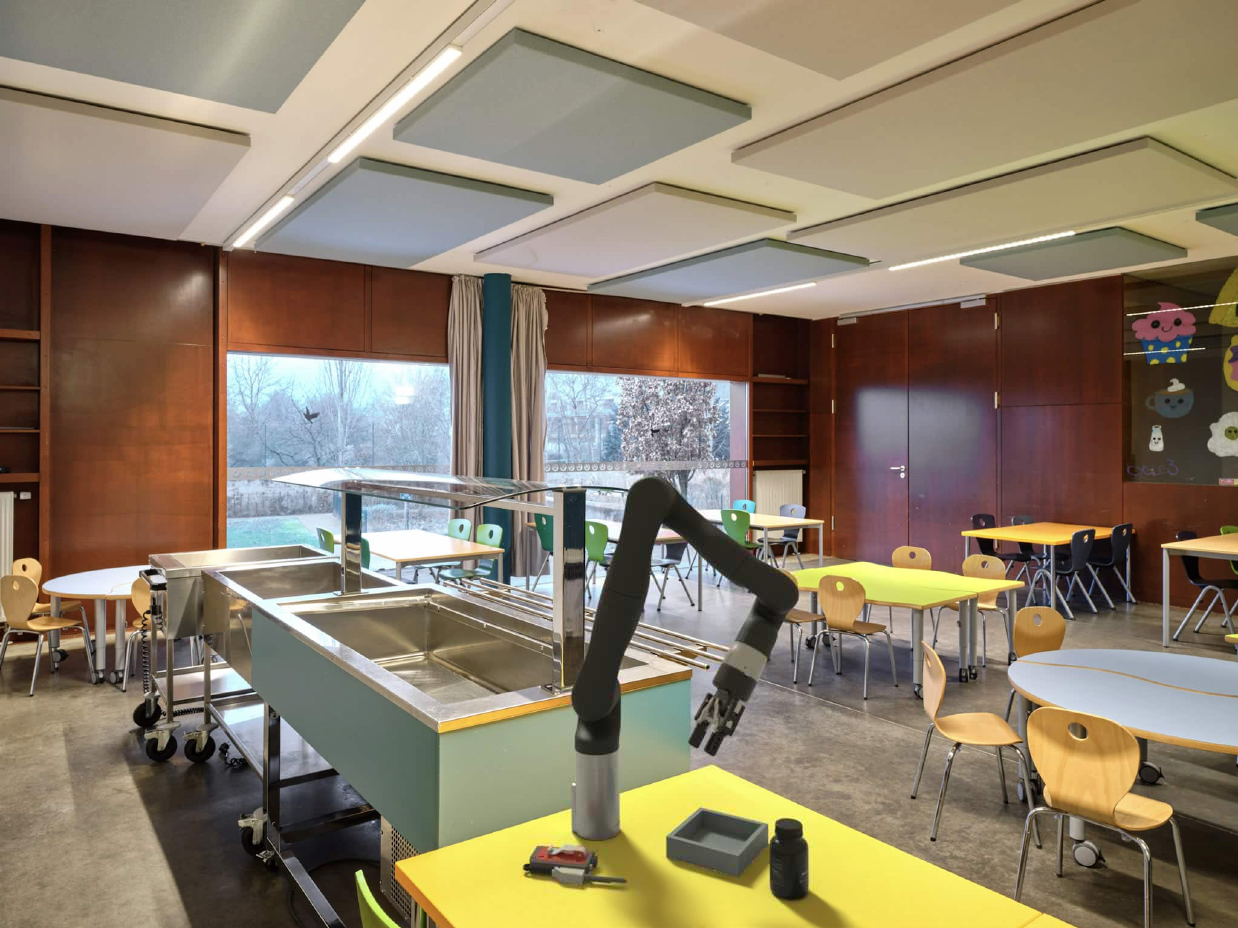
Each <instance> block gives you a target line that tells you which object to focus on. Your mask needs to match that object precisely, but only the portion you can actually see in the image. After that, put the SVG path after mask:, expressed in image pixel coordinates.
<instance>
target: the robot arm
mask: <svg viewBox="0 0 1238 928" xmlns="http://www.w3.org/2000/svg"><path fill="white" fill-rule="evenodd" d="M623 511H624V512H623V515H622V516H623V517H622V521H621V526H620V527H621V528H620V533H619V537H618V540H617V543H616V546H615V549H614V552H613V555H612V558H611V560H610V562H609V563H610V564H609V565H608V568H607V569H608V570H607V573H606V575H605V579H604V582H603V585H602V588H601V592H600V595H599V599H598V602H597V606H596V611H595V615H594V620H593V624H592V629H591V632H590V634H591V635H590V639H589V644H588V648H587V650H586V654H585V657H584V659H583V661H582V662H583V663H582V665H581V667H580V670H579V672H578V675H577V677H576V679H575V681H574V684H573V685H572V689H571V694H570V702H571V706H572V708H573V710H574V712H575V714H576V715H577V723H576V729H575V734H574V767H575V768H574V774H575V775H574V779H575V780H574V781H575V782H573V783H572V784H571V786H570V796H571V798H570V804H571V807H570V808H571V813H570V814H571V817H570V818H571V831H573V832H575V833H576V834H577V836H579V837H580V838H582V839H585V840H591V841H602V840H609V839H612V838H613V837H615V836H617V835H618V834H619V833H620V830H621V815H620V813H621V810H620V809H621V808H620V807H621V803H620V801H621V799H620V798H621V797H620V796H621V795H620V794H621V792H620V788H621V787H620V784H621V783H620V736H621V735H620V734H621V729H622V727H621V726H622V725H621V724H622V689H621V683H620V680H619V673H620V669H621V665H622V662H623V659H624V655H625V653H626V651H627V649H628V648H629V645H630V642H631V641H632V638H633V637H634V634H635V632H636V630H637V627H638V625H639V623H640V620H641V617H642V614H643V611H644V608H645V603H646V600H647V597H648V594H649V588H650V585H651V584H650V582H651V575H652V573H651V572H652V557H653V552H654V551H653V550H654V546H655V544H656V540H657V537H658V535H659V531H660V529H661V526H662V525H663V526H665V527H666V528H668V529H670V530H672V531H673V532H674V533H676V534H677V535H678V536H680V537H681V538H682V539H683V540H684V541H685V542H687V544H689V545H690V546H691V547H692V549H693V550H695V551H696V552H697V554H699V555H700V557H701V558H702V559H703V560H704V561H705V562H706V563H707V564H708V565H710V567H712V568H713V569H714V570H715V571H717V572H718V573H719V574H721V575H722V576H723V577H724V578H725V579H727V580H728V581H729V582H731V583H732V584H734V585H735V586H737V587H739V588H744V589H746V590H748V591H749V592H751V593H752V594H753V595H755V596H756V597H755V599H754V602H753V603H752V606H751V608H750V610H749V612H748V616H747V618H746V619H745V621H744V622H743V624H742V626H741V628H740V629H739V631H738V633H737V635H736V638H735V639H734V641H733V643H732V645H731V646H730V647H729V648H728V649H727V650H728V651H727V652H726V654H725V655H724V658H723V660H722V661H721V663H720V665H719V667H718V670H717V671H716V673H715V675H714V677H713V679H712V681H711V682H712V683H711V684H712V685H713V687H714V688H716V692H715V693H714V694H712V693H711V692H707V693H706V695H705V697H704V699H703V701H702V703H701V704H700V706H699V708H698V710H697V712H696V713H695V716H694V717H693V721H695V727H694V729H693V731H692V733H691V735H690V737H689V739H688V741H687V743H688V744H689V745H690V746H691V747H693V748H695V749H699V748H700V747H701V744H702V743H703V740H704V738H705V736H706V735H707V733H708V730H709V729H710V728H711V727H712V726H713V725H714V726H713V731H712V732H711V734H710V736H709V738H708V740H707V742H706V744H705V745H704V748H703V752H704V753H706V754H707V755H708V756H709V755H710V756H711V757H715V756H717V753H718V751H719V749H720V747H721V745H722V743H723V741H724V739H727V738H728V736H729V737H733V735H734V732H735V730H736V729H737V727H738V725H739V722H740V721H741V719H742V716H743V713H744V711H745V710H746V706H745V705H743V704H742V703H744V704H745V703H746V704H747V703H748V702H749V701H750V700H751V696H752V694H753V692H754V690H755V689H756V686H757V684H758V682H759V680H760V678H761V676H762V674H763V672H764V670H765V668H766V667H765V666H766V664H767V662H768V659H769V656H770V655H771V652H772V650H773V649H774V647H775V645H776V642H777V640H778V637H779V636H778V633H779V631H780V629H781V627H782V625H783V623H784V622H785V620H786V618H787V616H788V614H789V613H790V611H791V610H793V608H795V606H796V605H797V604H798V602H799V600H800V599H799V598H800V591H799V587H798V585H797V584H796V583H795V582H794V580H793V579H792V578H791V577H790V576H789V575H787V574H786V573H784V572H782V571H781V570H779V569H777V568H776V567H775V566H772V565H771V564H769V563H767V562H765V561H763V560H762V559H759V557H757V556H755V554H754V553H752V552H751V551H749V550H748V549H747V548H746V547H744V546H743V545H742V544H740V543H739V542H738V541H736V540H735V539H734V538H732V537H731V536H730V535H728V534H727V533H726V532H725V531H723V530H722V529H720V528H719V527H718V526H716V525H715V524H714V523H712V522H711V521H710V520H709V519H707V518H706V517H704V515H702V514H701V513H700V512H699V511H698V510H697V509H695V508H694V506H692V505H691V504H690V503H689V502H688V501H687V499H685V497H684V496H683V495H682V494H681V493H680V492H679V491H678V490H677V488H675V486H674V485H673V484H672V483H671V482H670V481H669V480H668V479H666V478H664V477H663V476H656V475H646V476H642V477H640V478H638V479H636V480H635V481H634V482H632V484H631V486H630V487H629V489H628V492H627V495H626V500H625V505H624V510H623Z"/></svg>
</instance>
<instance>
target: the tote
mask: <svg viewBox="0 0 1238 928" xmlns="http://www.w3.org/2000/svg"><path fill="white" fill-rule="evenodd" d="M768 845H769V823H766V822H763V821H758V820H755V819H750V818H746V817H741V816H738V815H733V814H729V813H726V812H722V811H719V810H714V809H713V810H712V809H709V808H705V807H701V806H700V807H699V808H698V809H697V810H695V811H694V812H693V813H692V814H690V815H689V816H688V817H687V818H686V819H685V820H683V821H682V822H681V823H680V824H679V825H677V826H676V827H675V828H674V829H673V830H671V831H670V832H669V833H668V834H667V835H666V836H665V848H666V849H665V851H666V852H665V853H666V855H665V856H666V858H667V859H671V860H675V861H679V862H683V863H686V864H689V865H692V864H693V865H692V866H695V867H696V866H697V867H700V868H702V867H704V868H703V869H706V868H707V870H709V869H711V871H713V870H716V871H719V872H718V873H720V872H722V873H721V874H723V873H726V874H725V875H727V874H728V876H730V875H732V876H731V877H734V876H735V877H734V878H737V879H738V878H740V877H741V876H742V875H743V873H744V872H745V871H746V870H747V869H748V868H749V867H750V866H751V864H752V863H753V862H754V861H755V860H756V859H757V858H758V856H759V855H760V854H761V853H762V852H763V851H764V850H765V848H767V846H768ZM762 850H763V851H762ZM755 858H756V859H755ZM754 859H755V860H754ZM752 861H753V862H752ZM747 867H748V868H747ZM744 870H745V871H744ZM716 871H715V872H716ZM740 875H741V876H740ZM739 876H740V877H739Z"/></svg>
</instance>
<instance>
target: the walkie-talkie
mask: <svg viewBox="0 0 1238 928" xmlns="http://www.w3.org/2000/svg"><path fill="white" fill-rule="evenodd" d="M598 863H599V857H598V855H596V851H595V850H591V849H587V847H586V846H584V845H574V844H563V845H562V846H554V845H553V844H550V845H549V846H547V845H536V847H535V848H534V850H533V852H532V853H531V854H530V856H529V863H525V864H523V866H522V870H523V871H525V872H529V873H530V874H531V875H540V876H541V875H542V876H550V877H552V878H554V879H555V880H556V881H558V882H559V883H561V884H569V885H577V886H583V885H584V884H585V883H591V882H593V883H600V884H610V885H611V884H612V883H615V884H627V879H626V878H623V877H612V876H601V875H592V874H593V873H592V870H593V868H594V869H596V868H598Z"/></svg>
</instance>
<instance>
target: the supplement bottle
mask: <svg viewBox="0 0 1238 928" xmlns="http://www.w3.org/2000/svg"><path fill="white" fill-rule="evenodd" d="M803 827H804V825H803V823H802V822H800V821H799V820H798V819H794V818H789V817H783V818H779V819H777V820H776V821H775V823H774V835H773V836H771V838H770V841H769V888H770V891H771V893H772V894H773V895H774V896H776V897H777V898H780V899H783V900H785V901H786V900H787V901H799V900H802V899H804V898H806V897H807V896H808V894H809V888H810V887H809V886H810V885H809V884H810V873H809V869H810V867H809V865H810V863H809V860H810V859H809V852H810V851H809V850H810V849H809V844H808V841H807V840H806V838H804V837H803V836H804V830H803V829H804V828H803Z"/></svg>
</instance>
